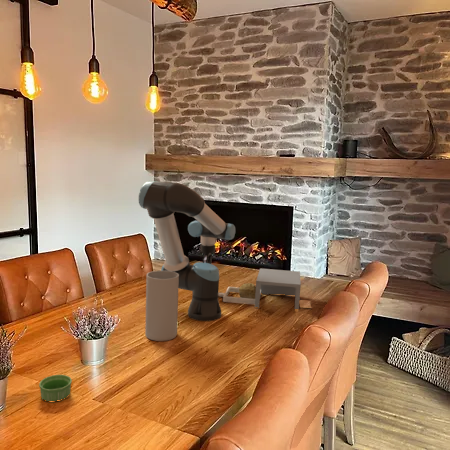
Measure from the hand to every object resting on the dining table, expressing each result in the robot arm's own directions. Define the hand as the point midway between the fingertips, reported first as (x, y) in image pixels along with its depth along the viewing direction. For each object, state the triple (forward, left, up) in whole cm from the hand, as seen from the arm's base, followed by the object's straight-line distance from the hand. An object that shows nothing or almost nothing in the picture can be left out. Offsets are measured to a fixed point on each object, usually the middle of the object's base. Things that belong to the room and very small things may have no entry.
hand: (206, 288), depth 233 cm
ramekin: (-74, -79, -4) cm, 109 cm away
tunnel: (+35, -20, -4) cm, 40 cm away
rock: (+19, -11, -4) cm, 22 cm away
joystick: (+11, -6, -3) cm, 13 cm away
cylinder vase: (-34, -44, -4) cm, 56 cm away
